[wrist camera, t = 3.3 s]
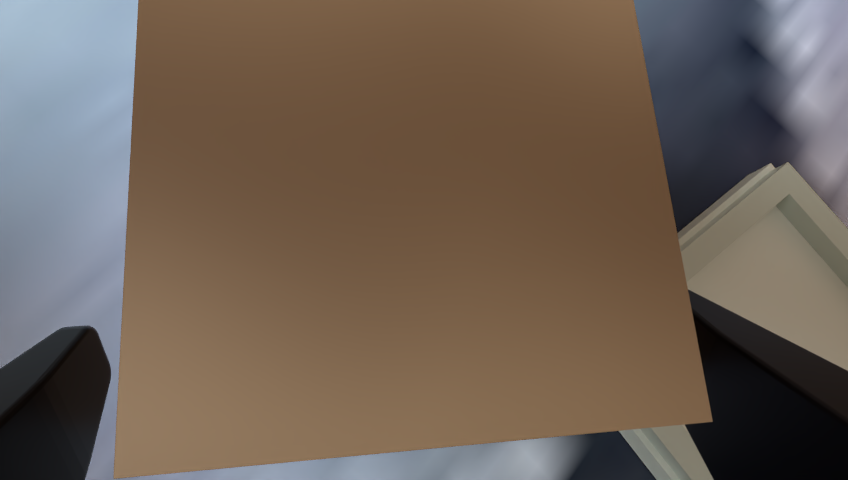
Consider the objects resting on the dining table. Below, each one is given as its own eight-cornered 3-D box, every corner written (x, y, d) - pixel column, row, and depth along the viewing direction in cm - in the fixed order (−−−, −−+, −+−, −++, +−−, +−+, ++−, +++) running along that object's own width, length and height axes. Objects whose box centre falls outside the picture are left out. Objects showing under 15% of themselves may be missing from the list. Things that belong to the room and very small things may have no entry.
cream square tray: (942, 397, 19) (1008, 400, 17) (755, 606, 17) (805, 635, 15) (747, 175, 20) (787, 154, 18) (547, 340, 18) (569, 335, 16)
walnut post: (460, 389, 17) (711, 421, 5) (299, 402, 17) (113, 479, 4) (447, 236, 19) (623, -56, 6) (296, 243, 18) (141, -65, 5)
